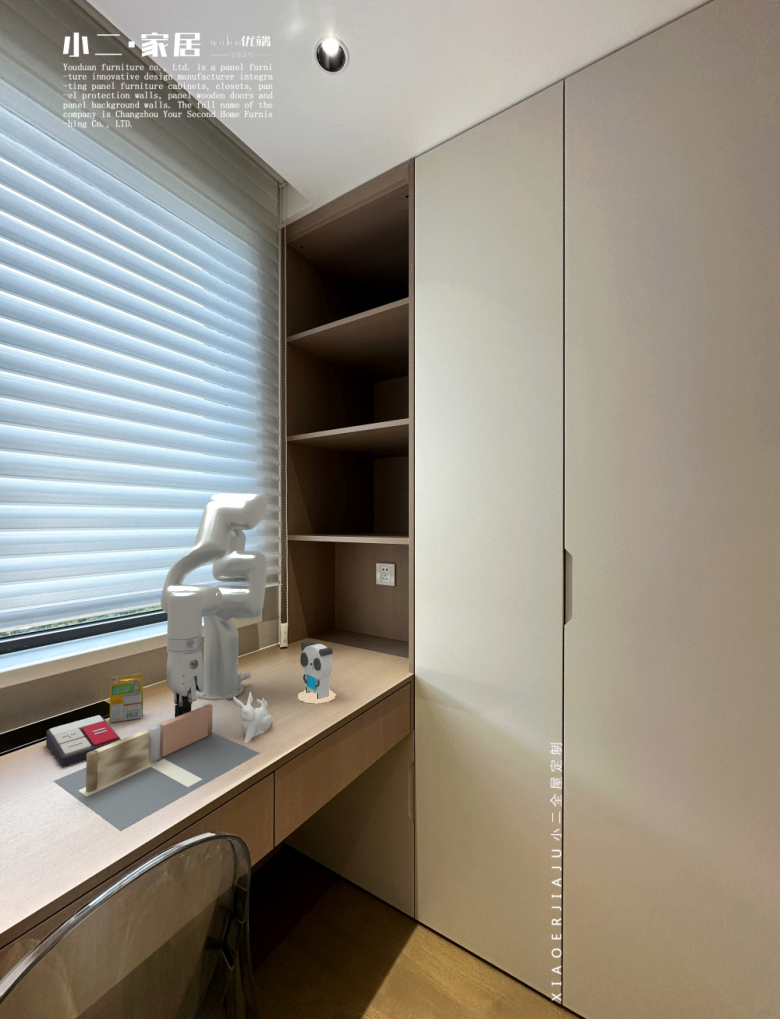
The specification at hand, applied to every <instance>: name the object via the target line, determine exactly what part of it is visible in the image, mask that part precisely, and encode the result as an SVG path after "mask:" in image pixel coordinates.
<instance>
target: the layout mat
mask: <svg viewBox="0 0 780 1019" xmlns="http://www.w3.org/2000/svg"><path fill="white" fill-rule="evenodd" d="M257 755H260V752H259V751H258V750H257V751H256V750H254V749H252V748H250V747H249V746H248V747H247V746H245V745H243V744H241V743H238V742H235V741H234V740H231V739H229V738H227V737H224V736H222V735H220V734H218V733H215V732H213V731H212V734H211V735H209V736H206V737H204V738H202V739H200V740H197V741H195V742H193V743H191V744H189V745H187V746H184V747H182V748H180V749H178V750H176V751H174V752H172V753H169V754H167V755H165V756H161V755H160V758H159V759H158V760H156V761H153V762H149V761H148V765H147V766H145V767H143V768H141V769H139V770H137V771H135V772H132V773H130V774H128V775H126V776H124V777H122V778H120V779H117V780H115V781H113V782H111V783H109V784H107V785H104V786H102V787H100V788H98V789H96V790H94V791H92V792H86V767H84V768H81V769H79V770H77V771H74V772H72V773H70V774H67V775H65V776H62V777H60V778H57V779H55V780H53V782H54V784H56V785H58V786H59V787H60V788H62V789H63V790H64V791H66V792H67V793H68V794H70V795H71V796H73V797H74V798H75V799H77V801H79V802H81V803H82V804H84V806H86V807H87V808H89V809H91V810H92V811H93V812H94V813H96V814H97V815H99V816H100V817H101V818H102V819H104V820H105V821H106V822H108V823H109V824H110V825H112V826H113V827H115V829H117V830H118V831H120V832H122V831H124V830H125V829H127V828H129V827H131V826H132V825H134V824H136V823H138V822H140V821H141V820H143V819H145V818H147V817H149V816H151V815H152V814H154V813H155V812H157V811H160V810H161V809H163V808H165V807H166V806H168V805H170V804H172V803H173V802H175V801H177V800H179V799H180V798H183V797H184V796H186V795H188V794H190V793H191V792H192V793H193V791H195V790H197V789H199V788H201V787H202V786H203V785H206V784H207V783H209V782H211V781H213V780H215V779H216V778H218V777H220V776H222V775H223V774H225V773H227V772H229V771H231V770H232V769H234V768H236V767H238V766H239V765H241V764H243V763H245V762H247V761H248V760H251V759H252V758H254V757H256V756H257Z"/></svg>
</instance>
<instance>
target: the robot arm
mask: <svg viewBox="0 0 780 1019" xmlns="http://www.w3.org/2000/svg"><path fill="white" fill-rule="evenodd" d="M208 500H209V501H208V503H207V504H206V505H205V506H204V508H203V512H202V514H201V518H200V519H201V520H200V522H199V526H198V530H197V534H196V537H195V541H194V544H193V547H191V548H190V549H188V551H186V552H185V553H184V554H182V555H181V556H180V558H178V559H177V561H175V562H174V563H173V564H172V566H171V567H170V569H169V571H168V572H167V574H166V577H165V580H164V585H163V587H162V591H161V597H160V606H161V609H162V611H163V612H164V613H166V614H167V626H166V627H167V633H166V652H167V659H166V660H167V662H166V686H167V687H168V689H170V691H171V692H172V693H173V701H174V704H175V705H174V718H175V717H178V716H180V715H183V714H185V713H188V712H190V711H192V704H193V702H196V701H197V698H198V699H199V700H206V701H221V700H222V701H223V700H225V701H226V700H227V701H228V700H231V699H234V698H233V696H235V698H238V697H239V696H240V695H241V694H242V693H243V691H244V687H243V685H242V684H241V683H243V681H245V680H248V679H250V678H251V673H250V672H249V671H247V672H245V673H242V672H239V671H238V670H239V630H238V628H237V626H236V624H235V622H233V620H234V619H235V620H254V619H257V618H259V617H260V616H261V614H263V610H264V602H265V592H266V585H267V584H266V583H267V575H268V561H267V557H266V555H265V554H264V553H262V552H260V551H255V550H254V551H253V550H245V549H246V548H245V547H246V541H247V538H246V534H245V532H244V531H250V530H253V529H254V528H256V527H257V525H259V523H261V522H262V521H263V519H264V517H265V516H266V514H267V500H266V498H265V497H264V496H263V495H262V494H260V493H242V492H220V493H216V494H213V495H212V496H211V497H210V498H209V499H208ZM211 563H212V576H213V578H214V580H215V581H218V582H221V583H247V584H248V585H215V586H214V585H210V584H183V582H184V580H185V579H186V578H187V576H189V575H190V574H191V573H192V572H194V571H196V570H197V569H199V568H202V567H204V566H207V565H209V564H211ZM203 627H204V628H203ZM203 631H204V632H203ZM202 632H203V633H202ZM202 634H203V635H202ZM203 636H204V637H203ZM202 637H203V638H202ZM202 640H203V648H202ZM202 649H203V653H202Z"/></svg>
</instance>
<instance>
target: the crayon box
mask: <svg viewBox="0 0 780 1019" xmlns="http://www.w3.org/2000/svg"><path fill="white" fill-rule="evenodd" d="M143 675H144V674H143V673H142V672H141V673H134V674H126V675H125V674H124V675H118V676H117V675H116V676H111V677H110V685H109V692H110V693H109V723H110V724H112V723H111V722H113V723H117V722H124V721H130V720H137V719H142V718H143V714H144V707H143V706H144V677H143Z"/></svg>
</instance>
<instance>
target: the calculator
mask: <svg viewBox="0 0 780 1019" xmlns="http://www.w3.org/2000/svg"><path fill="white" fill-rule="evenodd" d="M121 739H122V738H121V737H120V736H119V735H118V734H117V733H116V732H115V730H114V729H113V727H111V725H110V724H109V723H108V721H106V720H105V718H104V717H103V716H102V715H99V714H98V715H95V716H91V717H86V718H84V719H80V720H75V721H73V722H70V723H69V722H68V723H66V724H61V725H58V726H55V727H52V728H49V729H48V730H46V735H45V740H46V742H45V744H46V745H47V746H46V747H47V749H48V750H49V752H51V753H52V756H54V757H55V758H56V760H57V761H58V763H59V764H60V766H61V768H65V767H66V768H67V767H69V766H72V765H75V764H78V763H81V762H84V761H87V753H88V752H90V751H94V750H96V749H98V748H101V747H103V746H106V745H108V744H111V743H113V742H116V741H118V740H121Z"/></svg>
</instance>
